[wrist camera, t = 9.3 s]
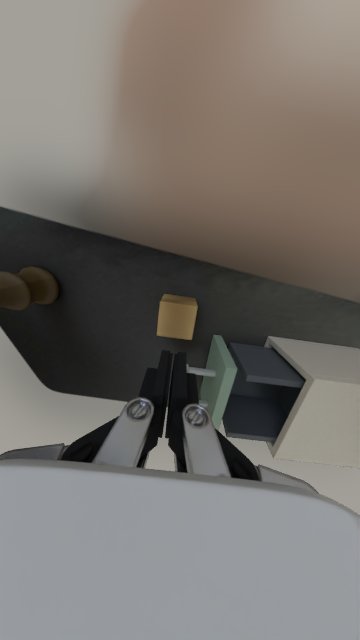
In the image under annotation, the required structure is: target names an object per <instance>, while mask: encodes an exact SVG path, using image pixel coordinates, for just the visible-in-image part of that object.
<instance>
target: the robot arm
mask: <svg viewBox="0 0 360 640" xmlns="http://www.w3.org/2000/svg"><path fill="white" fill-rule="evenodd" d="M172 355H173V353H170V351H166V350H162V353H161V357H160V362H159V366H158V369H155V368H148V369H147V371H146V374H145V378H144V381H143V384H142V387H141V390H140V393H139V396H138V398H134V399H132V400H130V401H129V402H128V403H127V404H126V405H125V407H124V409H123V410H122V412H121V414H120V416H118V417H116V418H115V419H113V420H111V421H109V422H108V423H106V424H104V425H102V426H100V427H99V428H97V429H95V430H94V431H92V432H90V433H88V434H86V435H85V436H83V437H81V438H79V439H78V440H76V441H75V442H73V443H72V444H71V445H67V446H65V445H64V443H62V444H55V445H47V446H39V447H31V448H23V449H16V450H11V451H8V452H5V453H4V454H1V455H0V640H360V515H358V514H357V513H355V512H354V511H352V510H351V509H349V508H347V507H346V506H344V505H342V504H340V503H338V502H336V501H334V500H332V499H330V498H328V497H325V496H323V495H321V494H319V493H318V492H317V491H316V490H315V489H314V488H313V487H312V486H311V485H310V484H308V483H306V482H305V481H303V480H300V479H298V478H295V477H292V476H289V475H286V474H284V473H281V472H279V471H276V470H273V469H270V468H268V467H265V466H262V465H258V467H257V466H255V465H253V463H252V462H251V461H250V460H249V459H248V458H247V457H246V456H245V455H244V454H243V453H242V452H240V451H239V450H238V449H237V448H236V447H235V446H234V445H233V444H232V443H231V442H230V441H228V440H227V439H226V438H225V437H224V436H223V435H222V434H221V433H220V432H219V431H218V430H217V429H215V427H214V424H213V421H212V418H211V415H210V413H209V411H208V410H207V409H206V408H205V407H203V406H202V405H199V399H198V390H197V381H196V374H195V373H187V365H186V353H182V352H178V354H175V357H174V364H173V371H172V378H171V385H170V394H169V404H168V415H167V424H166V434H165V438H169V443H168V445H169V447H170V448H171V450H172V451H173V452H174V453H175V454H174V462H175V472H172V471H163V470H154V469H145V466H146V463H147V460H148V457H149V451H150V450H152V449H153V448H154V447H155V446H156V445H157V441H158V437H160V438H162V434H163V427H164V420H165V413H166V406H167V399H168V391H169V382H170V373H171V364H172Z"/></svg>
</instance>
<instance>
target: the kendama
mask: <svg viewBox="0 0 360 640" xmlns="http://www.w3.org/2000/svg"><path fill="white" fill-rule="evenodd" d="M58 293H59V289H58V283H57V281H56V279H55V277H54V276H53V275H52V274H51V273H49V272H48V271H47V270H44V269H42V268H40V267H33V266H29V267H25V268H23V269H22V270H21V271H20V272H19V274H13V273H10V272H3V271H0V307H6V308H9V309H14V310H22V309H27V308H28V306H29V305H30V304H31V302H35V303H38V304H45V305H46V304H50V303H53V302H54V301H55V300H56V299H57V297H58Z"/></svg>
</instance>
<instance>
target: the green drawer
mask: <svg viewBox="0 0 360 640" xmlns="http://www.w3.org/2000/svg"><path fill="white" fill-rule="evenodd" d="M186 365H187V373H195V374H196V375H204V377H203V382H202V386H201V390H200V397H201V400H199V405H202V406H203V407H205V408H206V409H207V410H208V411H209V413H210V415H211V418H212V421H213V424H214V427H215V429H217V430H219V426H220V423H221V420H223V424H224V428H225V433H226V437H232V438H241V439H249V440H259V441H267V442H276V440H277V438H278V436H279V434H280V432H281V430H282V428H283V426H284V424H285V422H286V420H287V418H288V416H289V414H290V412H291V410H292V408H293V406H294V404H295V402H296V400H297V398H298V396H299V394H300V392H301V390H302V388H303V386H304V384H305V382H306V379H305V378H304V377H303V376H302V375H301V374H300V373H299V372H298V371H297V370H296V369H295V368H294V367H293V366H292V365H291V364H290V363H289V362H288V361H287V360H286V359H285V358H284V357H283V356H282V355H281V354H280V353H279V352H278V351H277V350H276V349H274V348H269V347H261V346H254V345H246V344H239V343H231V342H230V343H229V347H228V349H227V346H226V344H225V342H224V340H223V338H222V336H220V335H213V338H212V342H211V347H210V351H209V356H208V360H207V364H206V369H201V368H193V367H189V365H188V364H186Z"/></svg>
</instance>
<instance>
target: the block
mask: <svg viewBox="0 0 360 640" xmlns="http://www.w3.org/2000/svg"><path fill="white" fill-rule="evenodd" d="M197 309H198V306H197V303H196V299H195V298H190V297H183V296H176V295H169V294H164V295H163V297H162V299H161V301H160V307H159V317H158V327H157V336H164V337H172V338H179V339H187V340H192V336H193V330H194V325H195V320H196V314H197Z"/></svg>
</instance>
